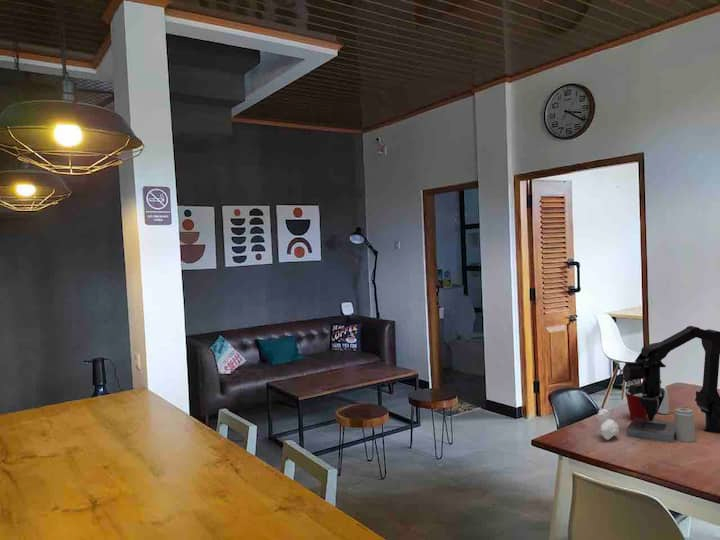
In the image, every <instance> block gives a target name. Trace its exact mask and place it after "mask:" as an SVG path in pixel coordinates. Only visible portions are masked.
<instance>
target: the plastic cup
mask: <svg viewBox="0 0 720 540" xmlns="http://www.w3.org/2000/svg"><path fill="white" fill-rule="evenodd" d="M624 393H625V396H626V400H627V407H628V411H629V417H630V419H631V421H633V419H634V418H635V417H637V418H644V419H648V418H647V417H648V415H647V412H646V409H645V408H644V407H643V406H641V404H639V399H640V398H641V397H642V396H643V395H642V393H639V394H634V395H630V393H629V392H628V388H625V389H624Z"/></svg>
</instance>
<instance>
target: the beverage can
mask: <svg viewBox="0 0 720 540" xmlns="http://www.w3.org/2000/svg"><path fill="white" fill-rule="evenodd" d="M674 409H675V410H674V413H673V414H674V423H675V435H676V439H675V440H676V441H678V442H683V443H693V442H695V441H696V440H695V439H696V433H695V431H696V430H695V413H694V412H693V409H691V408H687V407H678V408H674Z"/></svg>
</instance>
